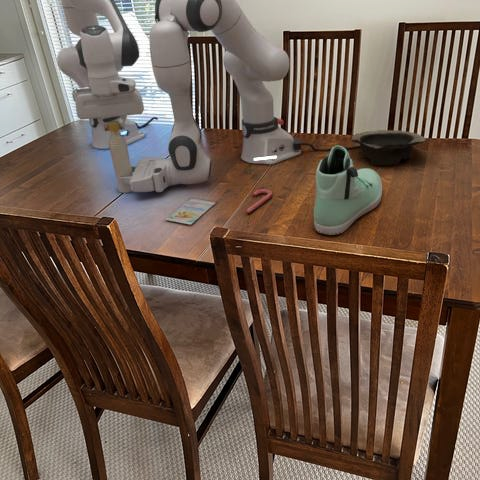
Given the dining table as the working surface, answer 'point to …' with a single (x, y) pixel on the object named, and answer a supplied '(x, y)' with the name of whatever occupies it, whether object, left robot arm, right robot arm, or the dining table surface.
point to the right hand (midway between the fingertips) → (121, 175)
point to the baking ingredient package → (190, 211)
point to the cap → (113, 126)
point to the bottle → (120, 159)
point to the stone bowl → (387, 145)
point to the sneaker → (343, 192)
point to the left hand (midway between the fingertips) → (114, 130)
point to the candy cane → (261, 201)
